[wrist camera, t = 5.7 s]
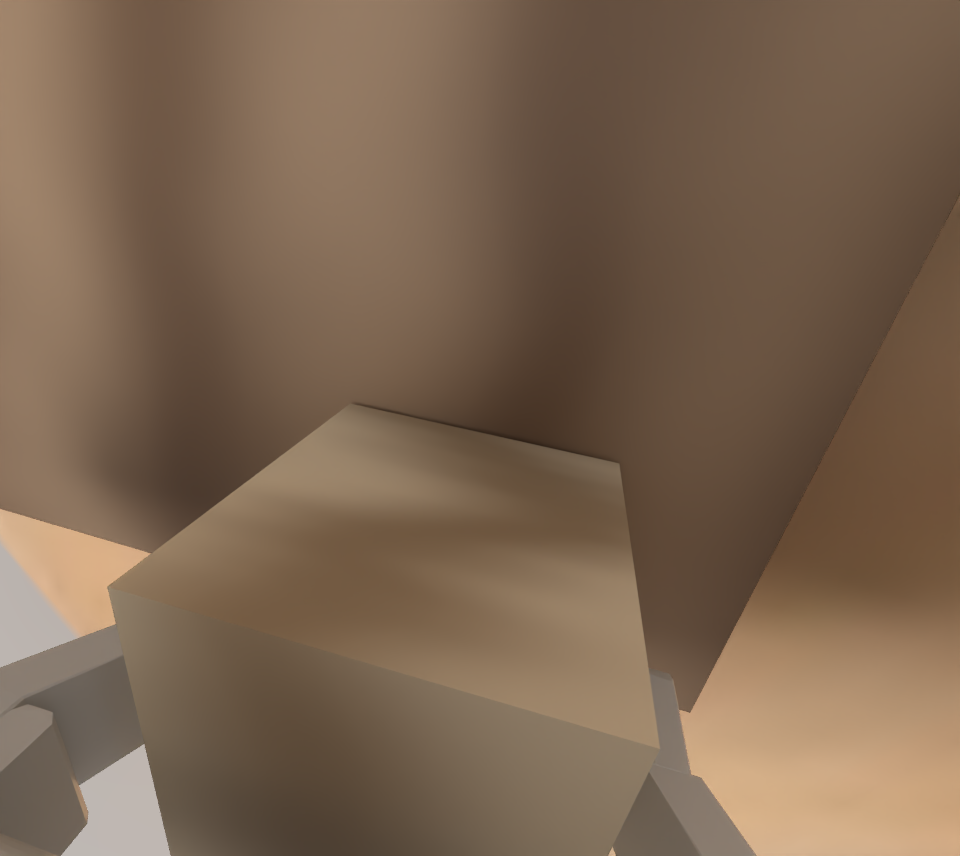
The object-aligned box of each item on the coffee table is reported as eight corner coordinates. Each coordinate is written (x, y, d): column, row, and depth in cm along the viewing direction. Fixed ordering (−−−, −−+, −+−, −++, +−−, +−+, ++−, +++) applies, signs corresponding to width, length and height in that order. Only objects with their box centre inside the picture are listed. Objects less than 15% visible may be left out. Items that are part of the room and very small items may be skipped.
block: (612, 417, 10) (660, 749, 4) (542, 659, 13) (502, 1070, 7) (393, 371, 11) (106, 586, 4) (375, 612, 14) (193, 949, 7)
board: (917, 71, 7) (1058, 4, 5) (672, 624, 12) (689, 712, 10) (-182, -56, 10) (-396, -135, 8) (-22, 435, 15) (-128, 471, 13)
